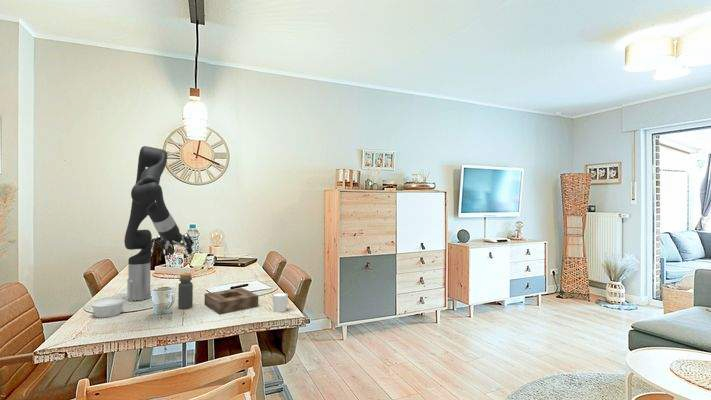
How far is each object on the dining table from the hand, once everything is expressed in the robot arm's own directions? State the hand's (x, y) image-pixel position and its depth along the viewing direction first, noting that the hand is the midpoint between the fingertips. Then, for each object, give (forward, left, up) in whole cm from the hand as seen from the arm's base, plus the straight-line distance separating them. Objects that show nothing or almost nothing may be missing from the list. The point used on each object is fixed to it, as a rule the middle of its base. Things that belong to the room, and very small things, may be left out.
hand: (181, 253), depth 163 cm
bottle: (+3, +4, -25) cm, 26 cm away
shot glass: (+34, -26, -25) cm, 50 cm away
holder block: (+20, -6, -25) cm, 33 cm away
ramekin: (-25, +14, -25) cm, 38 cm away
